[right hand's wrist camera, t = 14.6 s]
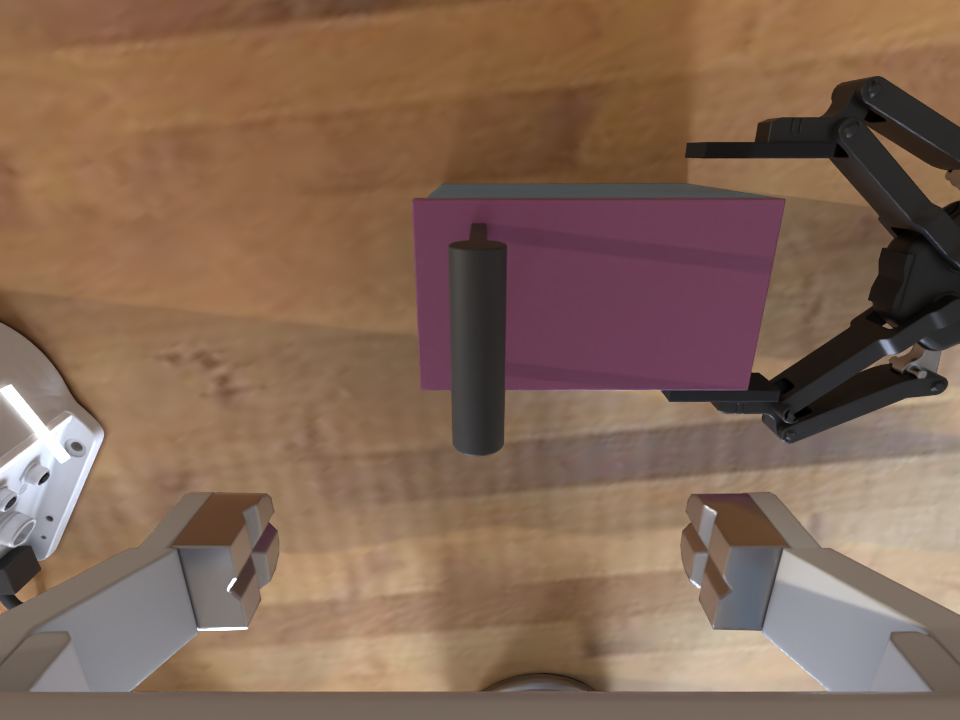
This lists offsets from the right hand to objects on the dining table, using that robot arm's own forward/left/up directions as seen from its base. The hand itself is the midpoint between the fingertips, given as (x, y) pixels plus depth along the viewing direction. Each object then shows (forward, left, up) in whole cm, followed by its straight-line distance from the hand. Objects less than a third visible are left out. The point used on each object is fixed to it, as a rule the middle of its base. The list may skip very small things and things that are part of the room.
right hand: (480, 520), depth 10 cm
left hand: (+4, -11, -22) cm, 24 cm away
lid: (+2, -5, -17) cm, 18 cm away
